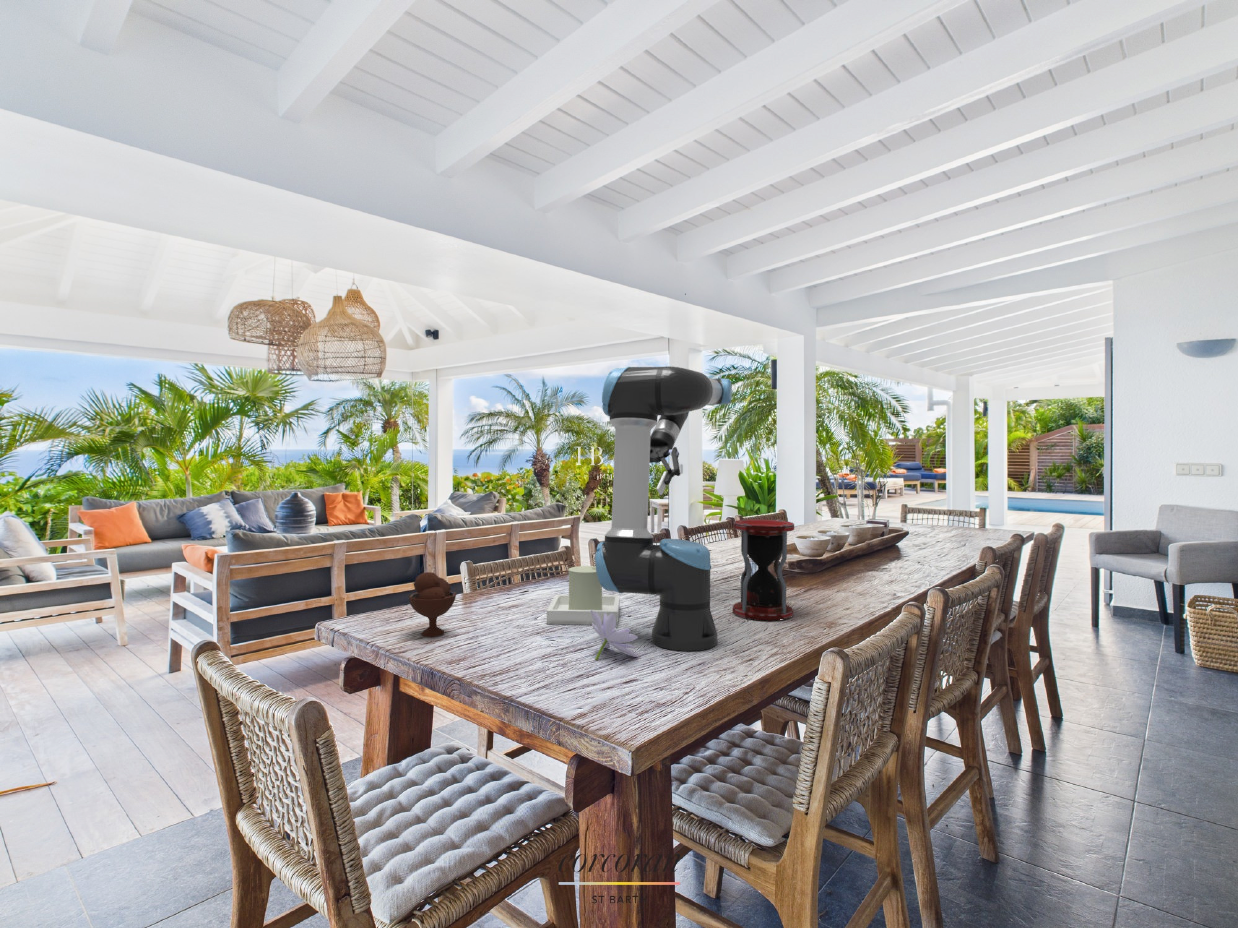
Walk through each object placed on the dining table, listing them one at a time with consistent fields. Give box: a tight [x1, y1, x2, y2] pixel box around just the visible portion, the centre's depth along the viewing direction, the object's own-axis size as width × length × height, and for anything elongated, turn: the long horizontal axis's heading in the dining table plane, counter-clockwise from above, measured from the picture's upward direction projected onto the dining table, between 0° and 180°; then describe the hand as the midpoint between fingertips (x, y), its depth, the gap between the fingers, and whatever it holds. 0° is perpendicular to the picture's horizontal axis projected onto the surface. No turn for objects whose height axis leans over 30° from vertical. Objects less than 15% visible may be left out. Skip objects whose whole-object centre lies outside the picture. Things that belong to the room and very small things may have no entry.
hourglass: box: [732, 518, 795, 622], centre depth 181 cm, size 16×16×25 cm
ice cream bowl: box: [408, 571, 457, 638], centre depth 160 cm, size 11×11×15 cm
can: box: [568, 565, 603, 610], centre depth 178 cm, size 9×9×12 cm
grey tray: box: [546, 594, 621, 626], centre depth 178 cm, size 18×18×4 cm
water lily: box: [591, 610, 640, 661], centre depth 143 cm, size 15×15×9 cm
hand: (637, 490), depth 188 cm, fingers open, 13 cm apart
